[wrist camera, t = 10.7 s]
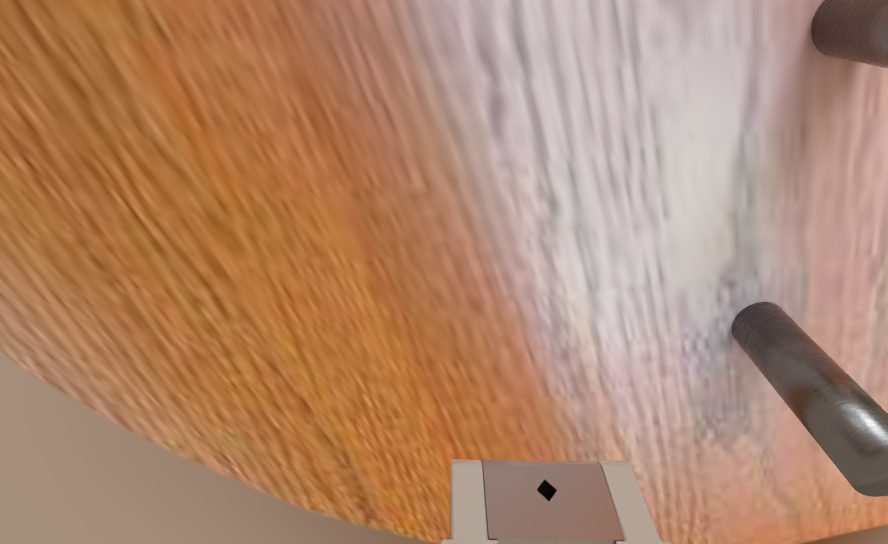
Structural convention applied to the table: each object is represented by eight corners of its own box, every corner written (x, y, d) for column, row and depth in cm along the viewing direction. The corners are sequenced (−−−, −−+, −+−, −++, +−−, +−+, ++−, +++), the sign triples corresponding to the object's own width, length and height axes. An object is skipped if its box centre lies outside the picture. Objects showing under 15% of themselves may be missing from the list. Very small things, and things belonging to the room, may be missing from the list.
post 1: (738, 302, 27) (863, 440, 19) (791, 302, 27) (939, 441, 19) (726, 346, 28) (840, 496, 20) (777, 347, 28) (911, 496, 20)
